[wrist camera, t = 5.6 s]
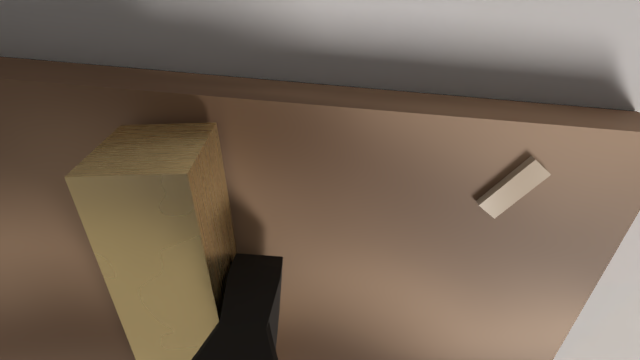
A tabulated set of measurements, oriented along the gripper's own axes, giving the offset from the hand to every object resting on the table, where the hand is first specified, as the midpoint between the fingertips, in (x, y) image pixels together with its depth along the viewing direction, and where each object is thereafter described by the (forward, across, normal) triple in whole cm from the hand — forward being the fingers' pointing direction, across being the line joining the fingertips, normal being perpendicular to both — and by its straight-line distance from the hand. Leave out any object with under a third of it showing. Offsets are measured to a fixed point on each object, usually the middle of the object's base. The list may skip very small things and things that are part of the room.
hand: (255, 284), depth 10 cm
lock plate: (+2, +1, +4) cm, 4 cm away
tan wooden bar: (0, +1, +2) cm, 2 cm away
